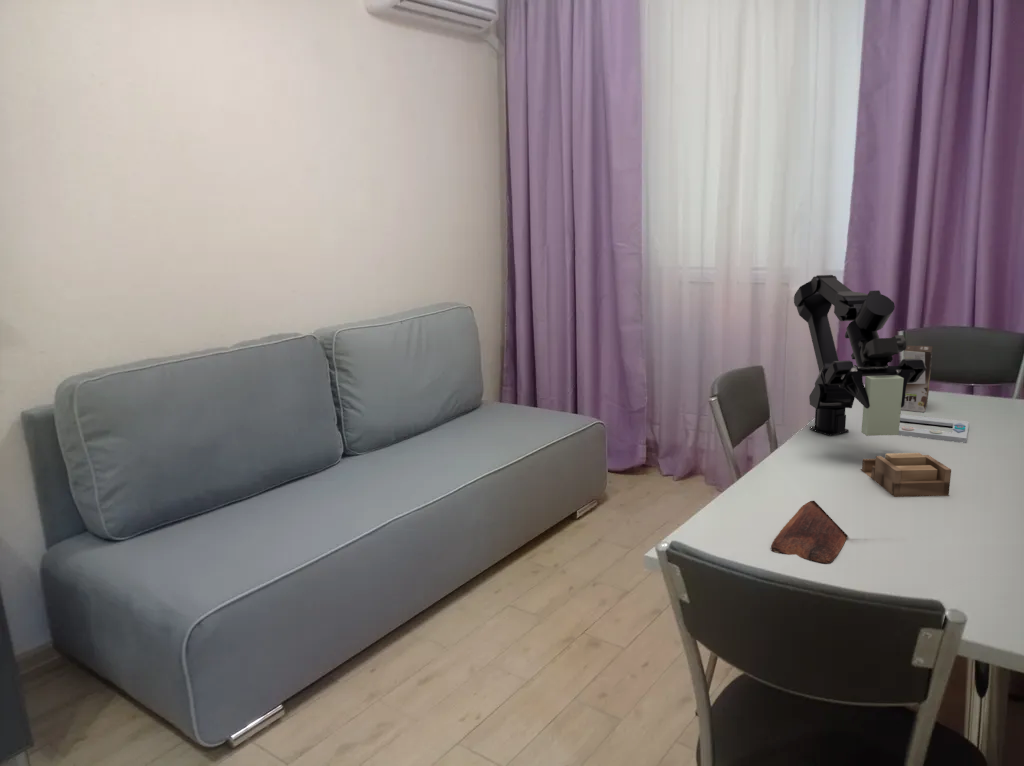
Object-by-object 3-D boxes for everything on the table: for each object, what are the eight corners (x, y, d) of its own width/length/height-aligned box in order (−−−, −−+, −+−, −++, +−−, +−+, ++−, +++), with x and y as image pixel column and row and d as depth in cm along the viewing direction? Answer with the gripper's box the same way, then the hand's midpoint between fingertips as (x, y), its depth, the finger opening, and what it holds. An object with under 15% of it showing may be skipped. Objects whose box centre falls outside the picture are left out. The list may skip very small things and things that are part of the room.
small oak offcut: (893, 488, 142) (895, 466, 141) (928, 487, 142) (930, 465, 141) (899, 493, 140) (901, 470, 139) (935, 492, 140) (937, 469, 139)
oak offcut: (883, 480, 146) (885, 453, 145) (916, 479, 146) (919, 452, 145) (889, 484, 144) (891, 457, 143) (923, 484, 144) (926, 457, 142)
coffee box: (925, 412, 194) (931, 351, 190) (898, 409, 197) (903, 350, 194) (928, 404, 202) (933, 345, 198) (901, 401, 205) (906, 344, 201)
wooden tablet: (807, 492, 142) (864, 496, 136) (808, 503, 142) (865, 508, 136) (766, 546, 121) (831, 554, 115) (767, 559, 121) (832, 567, 115)
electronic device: (969, 419, 181) (966, 436, 169) (968, 428, 182) (965, 446, 170) (886, 411, 191) (877, 426, 179) (885, 419, 192) (877, 435, 179)
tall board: (861, 432, 156) (865, 376, 153) (892, 431, 156) (897, 375, 153) (866, 435, 154) (871, 379, 151) (898, 434, 153) (903, 378, 151)
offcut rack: (859, 473, 153) (861, 445, 152) (909, 472, 153) (911, 444, 151) (894, 501, 138) (896, 471, 137) (948, 500, 138) (952, 470, 137)
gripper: (833, 323, 153) (852, 387, 145) (926, 320, 153) (950, 385, 145) (817, 353, 163) (833, 415, 155) (904, 350, 162) (925, 413, 154)
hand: (885, 407), depth 152 cm, fingers closed on tall board, 6 cm apart
